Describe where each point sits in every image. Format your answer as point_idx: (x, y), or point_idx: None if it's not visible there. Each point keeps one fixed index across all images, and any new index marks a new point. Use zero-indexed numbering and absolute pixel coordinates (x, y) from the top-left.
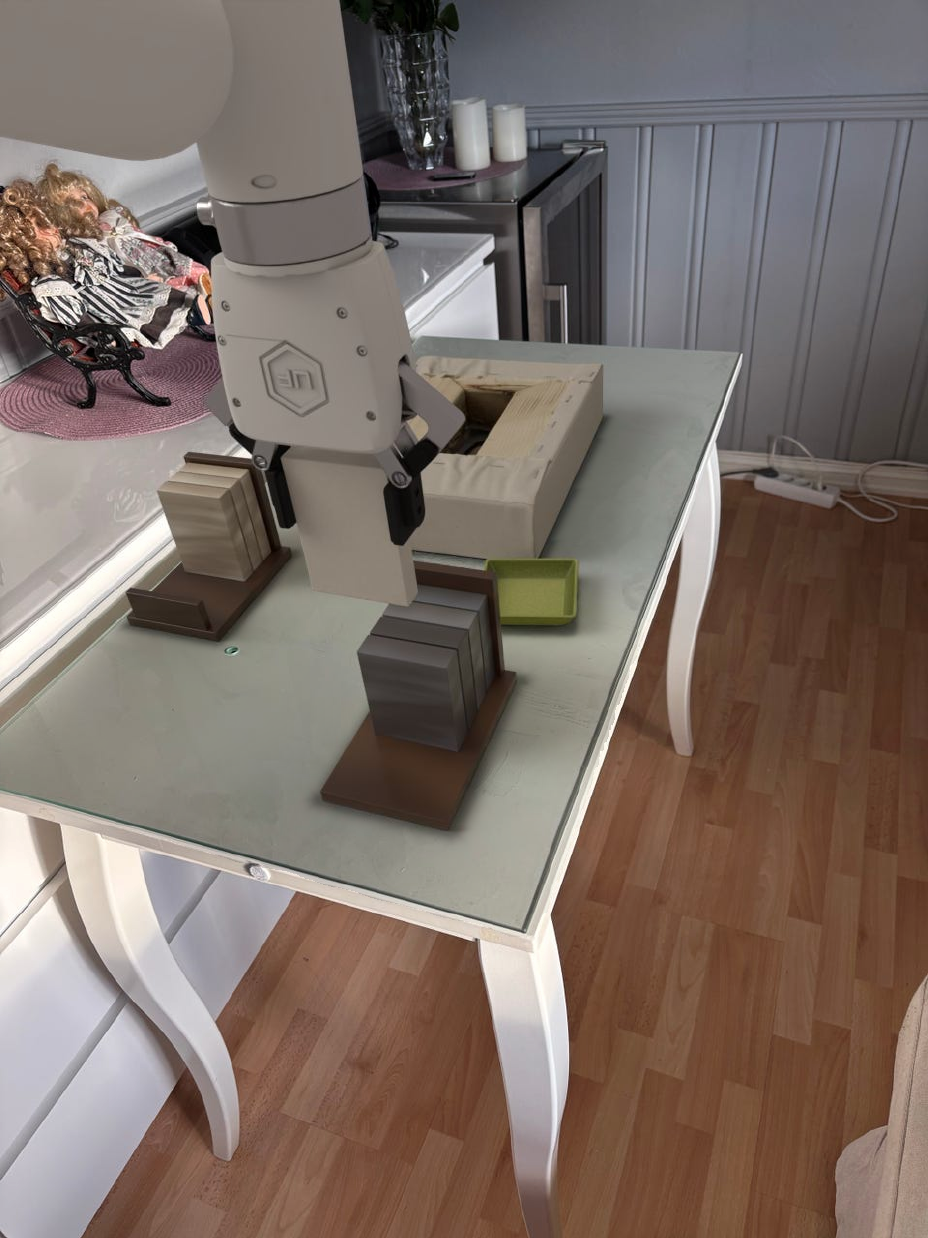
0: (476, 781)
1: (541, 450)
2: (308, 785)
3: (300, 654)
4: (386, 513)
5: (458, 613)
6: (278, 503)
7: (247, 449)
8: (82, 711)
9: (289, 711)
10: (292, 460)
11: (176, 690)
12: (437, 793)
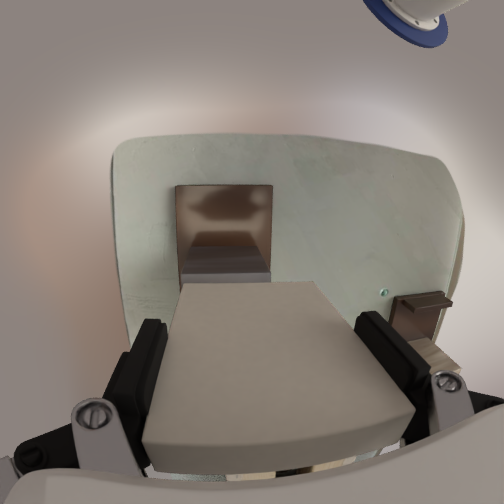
0: (174, 231)
1: (235, 475)
2: (286, 195)
3: (341, 304)
4: (154, 357)
5: None
6: (389, 334)
7: (471, 393)
8: (439, 219)
9: (328, 254)
10: (391, 414)
11: (402, 250)
12: (190, 207)
